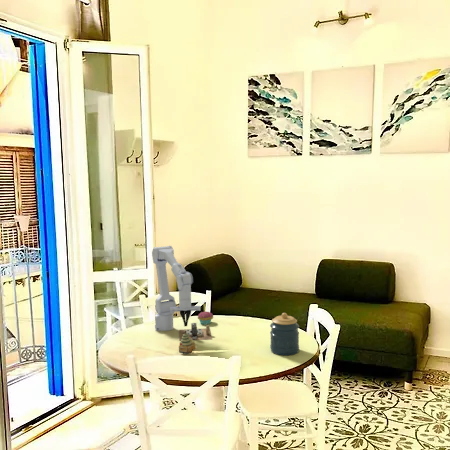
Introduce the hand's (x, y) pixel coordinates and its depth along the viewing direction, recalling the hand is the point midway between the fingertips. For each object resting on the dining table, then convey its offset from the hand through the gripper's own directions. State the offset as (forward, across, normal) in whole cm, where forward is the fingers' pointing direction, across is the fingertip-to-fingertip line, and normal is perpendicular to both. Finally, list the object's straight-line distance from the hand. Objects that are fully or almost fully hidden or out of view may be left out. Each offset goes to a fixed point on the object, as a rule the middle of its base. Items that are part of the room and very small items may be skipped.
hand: (185, 325), depth 234 cm
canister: (+8, +44, -20) cm, 49 cm away
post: (+8, +4, +7) cm, 11 cm away
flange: (+7, +4, +5) cm, 9 cm away
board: (+8, +5, +7) cm, 12 cm away
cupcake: (+8, +11, +26) cm, 29 cm away
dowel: (+8, +11, +6) cm, 15 cm away
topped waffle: (+8, 0, -14) cm, 16 cm away
